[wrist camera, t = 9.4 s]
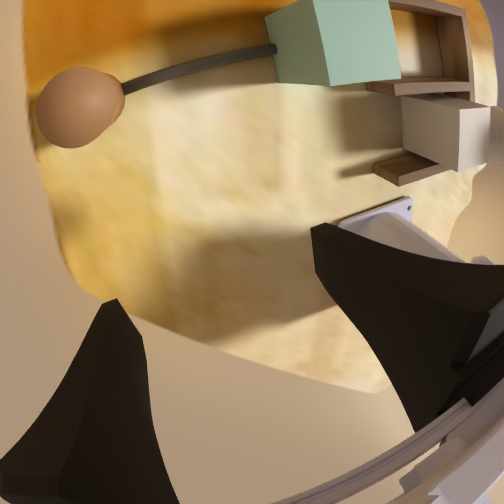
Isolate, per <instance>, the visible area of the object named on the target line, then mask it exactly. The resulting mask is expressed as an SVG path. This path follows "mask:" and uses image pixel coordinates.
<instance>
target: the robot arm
mask: <svg viewBox="0 0 504 504" xmlns="http://www.w3.org/2000/svg"><path fill="white" fill-rule="evenodd" d="M407 207H408V208H407ZM412 208H413V199H412V198H411V197H409V196H408V197H405V198H402V199H399V200H396V201H394V202H391V203H388V204H385V205H383V206H380V207H377V208H375V209H372V210H369V211H366V212H364V213H361V214H358V215H355V216H353V217H350V218H347V219H344V220H342V221H341V222H340V223H339V224H338V227H337V226H334V225H331V224H328V223H323V224H320V225H317V226H314V227H312V228H310V230H311V238H312V246H313V255H314V264H315V272H316V274H317V276H318V277H319V279H320V281H321V282H322V284H323V286H324V287H325V289H326V290H327V292H328V293H329V295H330V296H331V297H332V298H333V300H334V301H335V302H336V303H337V304H338V306H339V307H340V308H341V309H342V311H343V312H344V313H345V314H346V315H347V317H348V318H349V319H350V320H351V322H352V323H353V324H354V325H355V326H356V328H357V329H358V330H359V331H360V333H361V334H362V335H363V337H364V338H365V339H366V341H367V342H368V344H369V345H370V347H371V348H372V350H373V352H374V353H375V355H376V356H377V358H378V360H379V361H380V363H381V365H382V367H383V368H384V370H385V372H386V374H387V375H388V377H389V379H390V381H391V383H392V385H393V386H394V388H395V390H396V392H397V394H398V396H399V398H400V400H401V402H402V404H403V407H404V409H405V411H406V413H407V415H408V417H409V420H410V422H411V425H412V427H413V429H414V431H415V434H414V435H412V436H411V437H409V438H407V439H406V440H404V441H403V442H401V443H400V444H398V445H397V446H395V447H393V448H391V449H390V450H388V451H386V452H385V453H383V454H381V455H379V456H378V457H376V458H374V459H372V460H370V461H369V462H367V463H365V464H363V465H361V466H359V467H357V468H355V469H353V470H351V471H349V472H347V473H346V474H343V475H341V476H339V477H337V478H335V479H332V480H330V481H328V482H326V483H323V484H321V485H319V486H316V487H314V488H312V489H309V490H307V491H304V492H302V493H299V494H297V495H294V496H291V497H288V498H286V499H283V500H280V501H277V502H274V503H271V504H335V503H337V502H339V501H342V500H344V499H346V498H348V497H350V496H352V495H354V494H356V493H358V492H360V491H362V490H364V489H366V488H368V487H370V486H371V485H373V484H376V483H377V482H379V481H381V480H383V479H384V478H386V477H388V476H390V475H391V474H393V473H395V472H396V471H398V470H400V469H401V468H403V467H404V466H406V465H407V464H409V463H411V462H412V461H414V460H415V459H417V458H418V457H420V456H421V455H422V454H424V453H426V452H427V451H428V450H430V449H431V448H433V447H434V446H435V445H437V444H438V443H439V442H440V446H439V448H438V449H437V450H436V451H435V452H433V453H432V454H431V455H429V456H428V457H427V458H425V459H424V460H423V461H421V462H420V463H418V464H417V465H416V466H414V468H413V469H412V470H411V471H410V472H409V473H407V474H406V475H405V476H403V477H402V478H401V479H400V480H399V482H400V484H401V486H402V487H403V489H404V493H403V494H401V495H400V496H398V497H396V498H395V499H393V500H391V501H389V502H388V503H386V504H492V503H491V501H490V500H489V498H488V496H487V495H486V492H487V491H488V490H489V489H490V488H491V487H492V486H493V485H494V484H495V483H496V482H497V480H498V479H499V478H500V477H501V476H502V475H503V473H504V265H497V264H496V263H495V262H493V261H492V260H490V259H489V258H488V257H486V256H484V255H482V256H479V257H473V258H472V261H471V263H466V262H464V261H463V260H462V259H461V258H459V257H458V256H457V255H455V254H454V253H453V252H452V251H450V250H449V249H448V248H446V247H445V246H444V245H442V244H441V243H440V242H438V241H437V240H436V239H434V238H433V237H431V236H430V235H429V234H427V233H426V232H425V231H423V230H422V229H420V228H419V227H417V226H416V225H415V224H413V223H412ZM0 496H1V497H2V498H3V499H4V500H6V501H7V502H9V503H11V504H180V503H179V501H178V499H177V496H176V494H175V492H174V489H173V487H172V485H171V482H170V479H169V476H168V474H167V471H166V468H165V465H164V462H163V459H162V455H161V452H160V449H159V445H158V442H157V438H156V434H155V430H154V426H153V421H152V414H151V406H150V395H149V385H148V373H147V361H146V355H145V350H144V345H143V340H142V336H141V335H140V333H139V331H138V330H137V329H136V327H135V326H134V324H133V323H132V321H131V320H130V318H129V317H128V315H127V313H126V312H125V310H124V309H123V307H122V306H121V304H120V303H119V301H118V299H114V300H111V301H108V302H106V303H103V304H102V305H101V307H100V309H99V310H98V312H97V314H96V316H95V318H94V320H93V322H92V324H91V326H90V328H89V330H88V332H87V334H86V336H85V338H84V340H83V342H82V344H81V346H80V348H79V350H78V352H77V354H76V356H75V357H74V359H73V361H72V363H71V365H70V367H69V369H68V371H67V373H66V375H65V376H64V378H63V380H62V381H61V383H60V385H59V386H58V388H57V390H56V391H55V393H54V394H53V396H52V398H51V399H50V400H49V402H48V403H47V405H46V406H45V408H44V409H43V411H42V412H41V413H40V415H39V416H38V418H37V419H36V420H35V422H34V423H33V424H32V425H31V427H30V428H29V429H28V430H27V432H26V433H25V434H24V435H23V436H22V438H21V439H20V440H19V441H18V442H17V443H16V444H15V445H14V446H13V447H12V449H10V450H9V452H7V453H6V455H5V456H4V457H3V458H2V459H0Z"/></svg>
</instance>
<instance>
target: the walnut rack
mask: <svg viewBox="0 0 504 504" xmlns="http://www.w3.org/2000/svg"><path fill="white" fill-rule="evenodd" d="M388 3H389V7H390V9H394V10H401V11H408V12H415V13H420V14H426V15H431V16H435V18H436V24H437V30H438V36H439V43H440V50H441V59H442V68H443V77H412V78H401V79H391V80H379V81H369V82H366V84H367V91H370V92H377V93H383V94H388V95H394V96H398V95H408V94H420V93H435V92H444V95H447V96H452V97H456V98H460V99H464V100H467V101H471V102H475V90H474V72H473V60H472V51H471V43H470V35H469V29H468V23H467V17H466V12H465V9H462V8H459V7H456V6H452V5H449V4H446V3H442V2H438V1H434V0H388ZM447 170H450V169H449V168H447V167H445V166H443V165H441V164H439V163H436V162H434V161H432V160H430V159H427V158H425V157H423V156H421V155H418V154H416V153H413V154H409V155H405V156H401V157H397V158H394V159H390V160H386V161H383V162H379V163H375V164H374V174H376V175H378V176H380V177H382V178H384V179H385V180H387V181H389V182H391V183H393V184H395V185H396V186H398V187H400V186H402V185H405V184H408V183H411V182H414V181H417V180H420V179H423V178H426V177H429V176H432V175H435V174H438V173H441V172H444V171H447Z"/></svg>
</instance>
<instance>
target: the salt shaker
mask: <svg viewBox="0 0 504 504" xmlns="http://www.w3.org/2000/svg"><path fill="white" fill-rule="evenodd" d="M488 160H489V161H493V162H497V163H501V164H504V110H503V109H501V108H499V107H497V106H491V107H490V140H489V154H488Z"/></svg>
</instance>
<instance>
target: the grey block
mask: <svg viewBox="0 0 504 504" xmlns="http://www.w3.org/2000/svg"><path fill="white" fill-rule="evenodd" d="M400 99H401V112H402V130H403V148H404V149H406V150H408V151H411V152H413V153H416V154H418V155H421V156H423V157H425V158H427V159H430V160H432V161H434V162H436V163H439V164H441V165H443V166H445V167H447V168H449V169H452V170H454V171H456V172H460V171H463V170H466V169H469V168H472V167H475V166H478V165H481V164H484V163H487V162H488V154H489V140H490V107H488V106H485V105H482V104H478V103H475V102H471V101H467V100H464V99H460V98H456V97H452V96H447V95H443V94H439V93H424V94H411V95H400Z"/></svg>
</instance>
